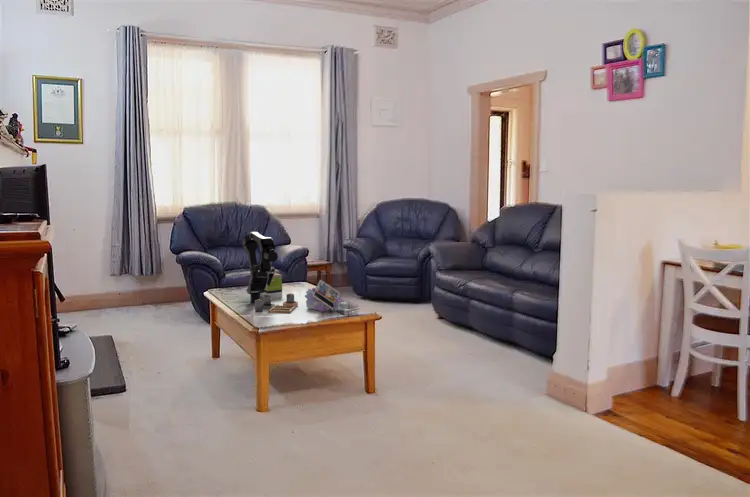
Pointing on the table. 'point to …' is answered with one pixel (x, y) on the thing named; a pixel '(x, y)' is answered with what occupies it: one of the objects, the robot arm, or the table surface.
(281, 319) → the table surface
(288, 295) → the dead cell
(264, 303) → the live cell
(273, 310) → the trough board
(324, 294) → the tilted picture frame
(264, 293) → the tea box
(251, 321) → the table surface
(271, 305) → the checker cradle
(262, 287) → the robot arm
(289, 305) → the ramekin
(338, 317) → the table surface
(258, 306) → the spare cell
